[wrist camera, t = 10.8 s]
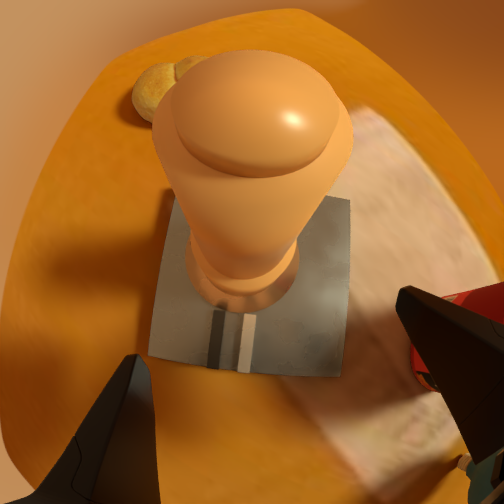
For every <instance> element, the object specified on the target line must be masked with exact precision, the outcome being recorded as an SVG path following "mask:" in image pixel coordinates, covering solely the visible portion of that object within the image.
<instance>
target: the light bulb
mask: <svg viewBox="0 0 504 504" xmlns="http://www.w3.org/2000/svg"><path fill="white" fill-rule="evenodd" d="M503 449H504V447H502V448H501V449H500V450H498V451H497V452H495V453H494V454H492V455H491V456H489V457H488V458H486V459H485V460H483V461H482V462H480V463H479V464H477V465H475V464H474V463H473V460H472V458H471V456H470V454H469V453H466V454H465V455H463V456H462V457H461V458H460V459H459V461H458V465H457V466H458V468H459V469H461V470H463V471H465V472H466V475H467V476H468V477H469V478H470V480H471V482H470V487H469V490H468V504H480V503H481V502H482V501H483V500H484V499H485V498H486V497H487V496H489V495H490V494H491V493H492V492H493V491H494V489H493V487H492V485H491V483H490V480H491V476H492V472H493V467H494V463H495V458H496V456H497V455H498V454H499V453H500V452H501V451H502V450H503Z"/></svg>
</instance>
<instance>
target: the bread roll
mask: <svg viewBox="0 0 504 504" xmlns="http://www.w3.org/2000/svg"><path fill="white" fill-rule="evenodd" d="M207 58H208V57H204V56H190V57H187V58H185V59H183V60H181V61H180V62H178V63H176V64H173V63H159V64H155V65H153V66H151V67H149V68H148V69H147V70H146V71H144V72H143V73H142V75H141V76H140V77H139V78H138V80H137V81H136V83H135V85H134V88H133V91H132V103H133V105H134V107H135V109H136V111H137V112H138V113H139V114H140V116H141V117H142V118H143V119H145V120H147V121H149V122H151V123H153V118H154V114H155V111H156V109H157V106H158V104H159V102H160V101H161V99H162V98H163V96H164V95H165V93H166V92H167V91H168V90H169V89H170V88H171V87H172V86H173V85H174V84H175V83H176V82H177V81H178V80H179V79H180V78H181V77H182V75H183V74H184V73H185V72H186V71H188V70H189V69H190V68H191V67H193V66H194V65H196V64H197V63H199V62H201V61H203V60H205V59H207Z"/></svg>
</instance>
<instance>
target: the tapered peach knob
mask: <svg viewBox="0 0 504 504" xmlns="http://www.w3.org/2000/svg"><path fill="white" fill-rule="evenodd" d="M152 137H153V142H154V146H155V149H156V152H157V154H158V157H159V159H160V161H161V164H162V166H163V168H164V171H165V173H166V175H167V178H168V180H169V182H170V184H171V187H172V189H173V191H174V193H175V196H176V198H177V200H178V202H179V205H180V207H181V209H182V211H183V213H184V216H185V218H186V220H187V222H188V224H189V226H190V229H191V233H190V242H191V248H192V252H193V255H194V257H195V259H196V261H197V263H198V265H199V266H200V268H201V269H202V271H203V272H204V274H205V275H206V277H207V278H208V280H209V281H210V282H211V283H212V284H213V285H214V286H215V287H216V288H217V289H218V290H220V291H222V292H224V293H226V294H229V295H232V296H238V297H246V296H252V295H256V294H258V293H261V292H262V291H264V290H266V289H267V288H268V287H270V286H271V285H272V284H273V283H274V281H275V280H276V279H277V278H278V277H279V276H280V275H281V274H282V273H283V271H284V270H285V269H286V268H287V266H288V265H289V264H290V262H291V260H292V258H293V255H294V253H295V249H296V242H297V237H298V235H299V234H300V232H301V231H302V230H303V228H304V227H305V225H306V224H307V222H308V221H309V219H310V218H311V216H312V215H313V213H314V212H315V210H316V209H317V207H318V206H319V204H320V203H321V201H322V200H323V198H324V197H325V195H326V194H327V192H328V191H329V189H330V188H331V186H332V185H333V183H334V182H335V180H336V179H337V177H338V176H339V174H340V173H341V171H342V170H343V168H344V167H345V165H346V163H347V161H348V159H349V157H350V155H351V151H352V147H353V127H352V123H351V120H350V117H349V115H348V112H347V110H346V108H345V107H344V105H343V103H342V102H341V100H340V99H339V98H338V97H337V95H336V94H335V92H334V90H333V88H332V87H331V85H330V84H329V83H328V82H327V80H326V79H325V78H324V77H323V76H322V75H321V74H320V73H318V72H317V71H316V70H314V69H313V68H312V67H310V66H308V65H307V64H305V63H303V62H301V61H299V60H297V59H295V58H292V57H289V56H286V55H283V54H279V53H275V52H270V51H262V50H238V51H231V52H226V53H221V54H218V55H215V56H212V57H209V58H207V59H205V60H203V61H201V62H199V63H197V64H196V65H194V66H193V67H191V68H190V69H189V70H188V71H186V72H185V73H184V74H183V75H182V77H181V78H180V79H179V80H178V81H177V82H176V83H175V84H174V85H173V86H172V87H171V88H170V89H169V90H168V91H167V92H166V93H165V95H164V96H163V98H162V99H161V101H160V102H159V104H158V106H157V109H156V111H155V114H154V118H153V123H152Z"/></svg>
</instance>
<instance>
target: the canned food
mask: <svg viewBox="0 0 504 504" xmlns="http://www.w3.org/2000/svg"><path fill="white" fill-rule="evenodd" d="M442 299H445V300H447V301H450V302H452V303H454V304H457V305H459V306H462V307H464V308H466V309H469V310H471V311H473V312H476V313H478V314H480V315H483V316H485V317H487V318H488V319H492V320H494V321H496V322H499V323H501V324H503V325H504V282H501V283H497V284H493V285H490V286H486V287H482V288H478V289H474V290H470V291H466V292H462V293H457V294H453V295H449V296H444V297H442ZM410 359H411V366H412V369H413V372H414V375H415V376H416V378H417V380H418V381H419V382H420V383H421V384H422V385H423V386H424V387H425V388H427V389H429V390H431V391H434V392H438V393H440V391H439V389H438V387H437V386H436V384H435V382H434V380H433V378H432V377H431V375H430V373H429V371H428V370H427V368H426V366H425V364H424V363H423V361H422V359H421V358H420V356H419V354H418V353H417V351H416V349H415V347H414V346H413V344H412V342H411V348H410Z"/></svg>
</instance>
